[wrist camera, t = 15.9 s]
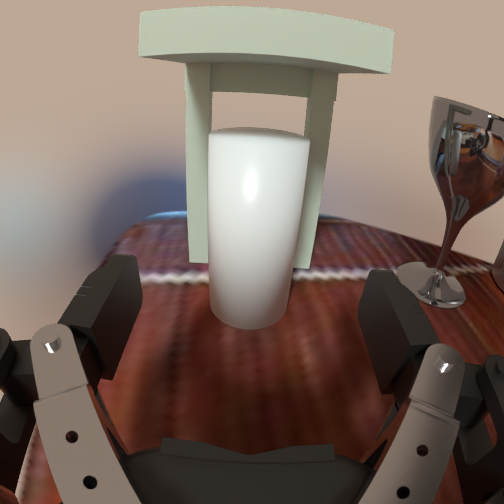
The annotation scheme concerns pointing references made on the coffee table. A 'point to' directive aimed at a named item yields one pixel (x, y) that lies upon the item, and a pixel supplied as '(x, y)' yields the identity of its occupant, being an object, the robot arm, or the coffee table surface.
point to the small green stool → (261, 84)
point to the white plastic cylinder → (253, 222)
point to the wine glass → (457, 189)
